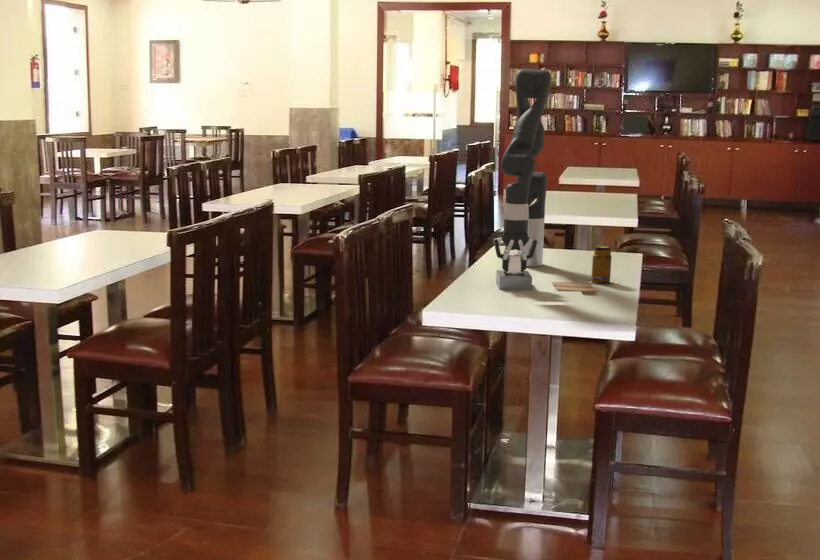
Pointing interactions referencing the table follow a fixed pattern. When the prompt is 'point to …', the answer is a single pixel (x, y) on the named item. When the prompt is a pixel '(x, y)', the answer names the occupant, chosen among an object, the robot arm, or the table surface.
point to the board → (574, 287)
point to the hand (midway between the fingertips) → (514, 271)
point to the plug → (514, 265)
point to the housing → (513, 281)
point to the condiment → (602, 266)
